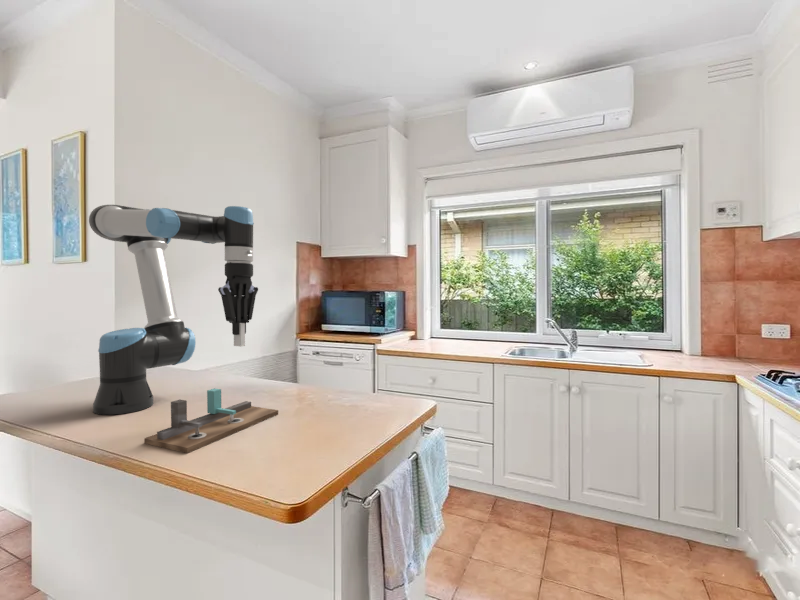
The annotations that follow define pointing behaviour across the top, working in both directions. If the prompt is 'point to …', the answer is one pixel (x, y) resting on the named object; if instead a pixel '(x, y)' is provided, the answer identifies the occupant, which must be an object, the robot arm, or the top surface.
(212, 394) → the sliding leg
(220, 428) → the board
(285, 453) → the top surface
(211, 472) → the top surface
